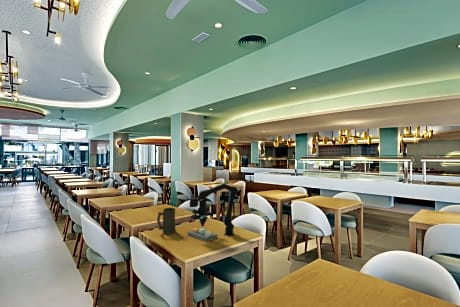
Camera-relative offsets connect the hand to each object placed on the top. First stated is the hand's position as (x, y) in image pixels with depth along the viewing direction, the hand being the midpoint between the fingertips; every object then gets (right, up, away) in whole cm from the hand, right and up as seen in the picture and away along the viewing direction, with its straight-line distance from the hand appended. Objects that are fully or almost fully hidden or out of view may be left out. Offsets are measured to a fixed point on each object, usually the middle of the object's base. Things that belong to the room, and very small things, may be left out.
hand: (202, 226), depth 198 cm
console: (0, -8, +1) cm, 8 cm away
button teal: (0, -7, +1) cm, 7 cm away
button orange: (-5, -8, +5) cm, 11 cm away
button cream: (+5, -8, -4) cm, 10 cm away
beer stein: (-31, -9, +10) cm, 34 cm away
